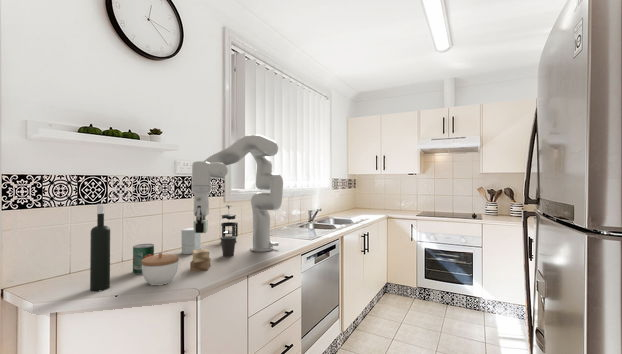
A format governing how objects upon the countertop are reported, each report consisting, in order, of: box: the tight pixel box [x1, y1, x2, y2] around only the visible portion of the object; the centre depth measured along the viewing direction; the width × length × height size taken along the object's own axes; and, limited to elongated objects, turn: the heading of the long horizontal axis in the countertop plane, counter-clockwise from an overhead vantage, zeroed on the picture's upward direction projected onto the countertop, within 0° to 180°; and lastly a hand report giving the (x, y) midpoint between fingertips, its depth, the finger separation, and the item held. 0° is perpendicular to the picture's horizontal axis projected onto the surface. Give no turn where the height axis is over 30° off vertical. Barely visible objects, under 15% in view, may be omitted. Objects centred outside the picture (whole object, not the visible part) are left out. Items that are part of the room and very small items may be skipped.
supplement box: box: [180, 227, 202, 255], centre depth 162 cm, size 7×7×13 cm
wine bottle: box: [89, 203, 111, 292], centre depth 108 cm, size 6×6×30 cm
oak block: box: [192, 248, 210, 263], centre depth 132 cm, size 6×6×4 cm
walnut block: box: [189, 257, 212, 272], centre depth 132 cm, size 7×7×4 cm
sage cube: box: [193, 219, 209, 234], centre depth 132 cm, size 5×5×5 cm
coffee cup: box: [219, 235, 237, 258], centre depth 155 cm, size 8×8×10 cm
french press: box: [220, 204, 239, 245], centre depth 188 cm, size 12×9×23 cm
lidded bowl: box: [141, 252, 180, 286], centre depth 114 cm, size 13×13×11 cm
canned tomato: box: [132, 243, 155, 275], centre depth 128 cm, size 8×8×11 cm
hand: (200, 231), depth 132 cm, fingers closed on sage cube, 5 cm apart
